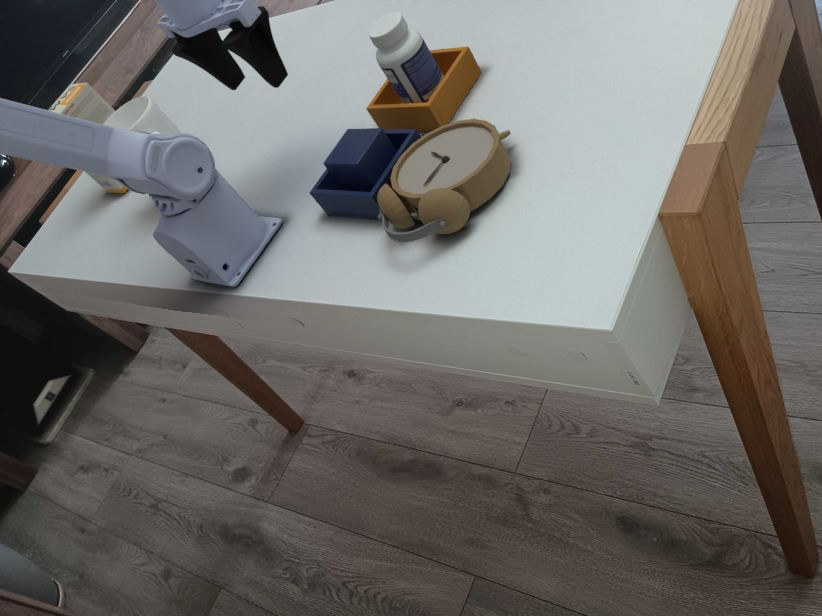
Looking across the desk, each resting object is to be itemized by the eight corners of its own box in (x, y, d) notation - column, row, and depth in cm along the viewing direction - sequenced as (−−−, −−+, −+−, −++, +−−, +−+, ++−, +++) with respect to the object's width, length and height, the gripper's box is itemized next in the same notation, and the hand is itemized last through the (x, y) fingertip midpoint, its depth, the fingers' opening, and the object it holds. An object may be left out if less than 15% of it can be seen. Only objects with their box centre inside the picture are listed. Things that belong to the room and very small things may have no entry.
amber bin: (443, 131, 80) (428, 106, 77) (381, 132, 85) (365, 108, 83) (481, 72, 83) (468, 46, 80) (419, 76, 88) (405, 52, 86)
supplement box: (141, 153, 113) (70, 82, 103) (158, 153, 110) (87, 80, 100) (107, 194, 109) (31, 125, 100) (124, 195, 107) (47, 124, 97)
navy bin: (389, 220, 75) (371, 196, 72) (327, 215, 80) (308, 192, 78) (432, 153, 78) (416, 128, 76) (370, 153, 84) (353, 129, 81)
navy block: (383, 200, 77) (356, 164, 73) (349, 198, 80) (322, 163, 76) (406, 164, 78) (382, 127, 75) (372, 163, 81) (347, 128, 78)
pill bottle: (453, 76, 84) (411, 0, 77) (448, 106, 81) (403, 29, 74) (411, 92, 86) (366, 18, 79) (404, 122, 83) (357, 48, 76)
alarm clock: (522, 117, 70) (430, 217, 63) (537, 162, 73) (451, 262, 66) (432, 117, 76) (340, 206, 69) (449, 158, 80) (363, 248, 73)
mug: (154, 201, 101) (87, 137, 93) (196, 158, 103) (134, 91, 95) (192, 221, 93) (122, 153, 85) (237, 173, 95) (173, 102, 87)
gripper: (235, -69, 69) (322, 52, 79) (152, -46, 78) (240, 60, 87) (191, -18, 66) (286, 100, 76) (111, 0, 75) (206, 104, 85)
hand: (259, 82), depth 82 cm, fingers open, 7 cm apart
